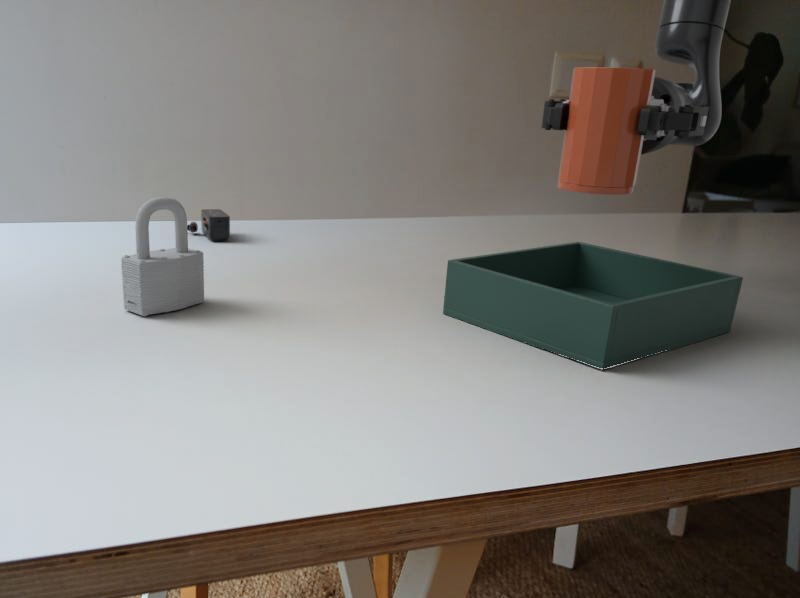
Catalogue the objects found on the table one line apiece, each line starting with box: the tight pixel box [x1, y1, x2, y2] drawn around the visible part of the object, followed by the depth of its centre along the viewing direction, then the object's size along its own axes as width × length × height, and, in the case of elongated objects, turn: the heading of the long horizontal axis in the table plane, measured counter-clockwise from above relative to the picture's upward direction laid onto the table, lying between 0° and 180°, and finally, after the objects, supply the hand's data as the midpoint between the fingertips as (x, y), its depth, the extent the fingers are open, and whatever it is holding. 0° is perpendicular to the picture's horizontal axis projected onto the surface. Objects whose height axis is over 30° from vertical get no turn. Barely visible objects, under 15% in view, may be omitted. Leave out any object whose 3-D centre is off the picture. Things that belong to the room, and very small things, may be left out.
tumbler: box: [557, 66, 657, 196], centre depth 64 cm, size 6×6×10 cm
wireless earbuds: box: [187, 208, 231, 242], centre depth 99 cm, size 5×7×3 cm, turn 19°
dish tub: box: [442, 241, 744, 369], centre depth 67 cm, size 19×17×5 cm
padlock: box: [120, 196, 205, 317], centre depth 66 cm, size 7×4×10 cm, turn 138°
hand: (599, 119), depth 62 cm, fingers closed on tumbler, 6 cm apart
